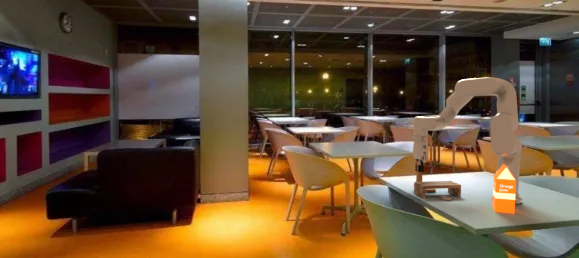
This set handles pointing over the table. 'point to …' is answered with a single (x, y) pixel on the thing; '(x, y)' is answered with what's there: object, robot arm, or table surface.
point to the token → (446, 198)
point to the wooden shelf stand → (437, 187)
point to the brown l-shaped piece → (419, 179)
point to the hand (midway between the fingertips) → (419, 171)
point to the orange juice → (504, 191)
